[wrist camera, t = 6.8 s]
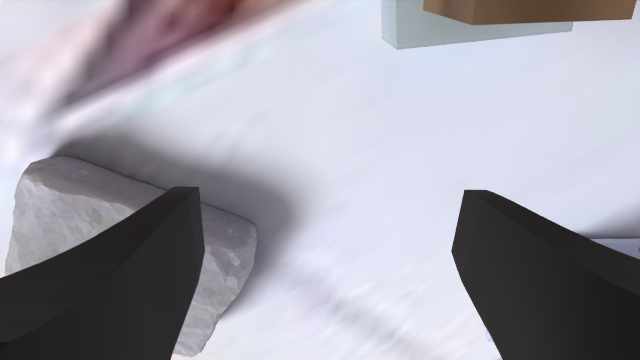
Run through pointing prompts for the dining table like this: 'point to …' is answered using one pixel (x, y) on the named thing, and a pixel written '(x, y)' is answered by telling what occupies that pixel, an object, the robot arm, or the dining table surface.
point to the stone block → (110, 208)
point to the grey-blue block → (447, 27)
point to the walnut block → (530, 10)
